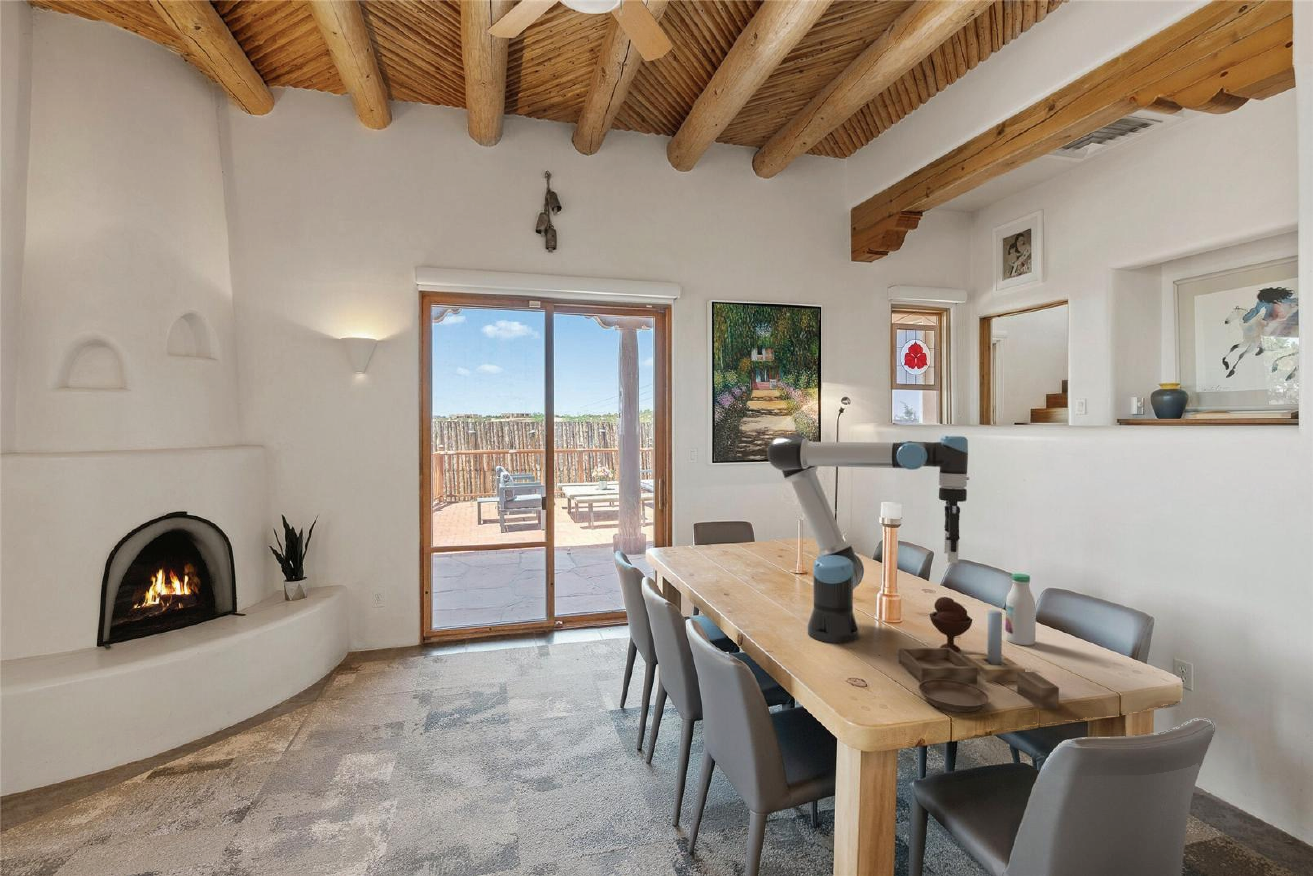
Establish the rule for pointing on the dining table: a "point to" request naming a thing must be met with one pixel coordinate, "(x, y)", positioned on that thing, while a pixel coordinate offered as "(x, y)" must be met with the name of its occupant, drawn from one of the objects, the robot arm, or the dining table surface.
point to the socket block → (995, 668)
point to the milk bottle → (1020, 612)
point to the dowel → (994, 637)
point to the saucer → (953, 695)
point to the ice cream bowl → (950, 620)
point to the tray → (937, 664)
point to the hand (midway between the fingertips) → (950, 557)
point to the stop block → (1038, 690)
